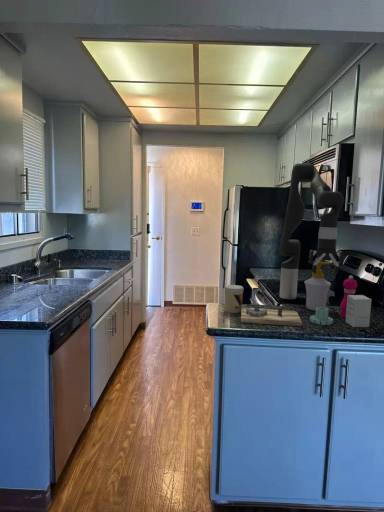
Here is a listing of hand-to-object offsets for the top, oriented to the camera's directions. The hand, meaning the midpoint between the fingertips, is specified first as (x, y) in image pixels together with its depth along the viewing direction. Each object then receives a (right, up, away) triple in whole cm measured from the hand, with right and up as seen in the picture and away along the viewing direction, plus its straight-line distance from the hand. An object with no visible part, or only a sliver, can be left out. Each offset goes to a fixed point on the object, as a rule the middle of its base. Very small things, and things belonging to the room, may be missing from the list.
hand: (324, 274), depth 155 cm
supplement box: (+14, -23, 0) cm, 27 cm away
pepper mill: (+15, -21, +11) cm, 28 cm away
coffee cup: (-39, -19, +17) cm, 46 cm away
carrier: (-23, -21, +5) cm, 32 cm away
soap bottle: (+4, -19, +23) cm, 30 cm away
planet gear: (0, -22, +3) cm, 22 cm away
